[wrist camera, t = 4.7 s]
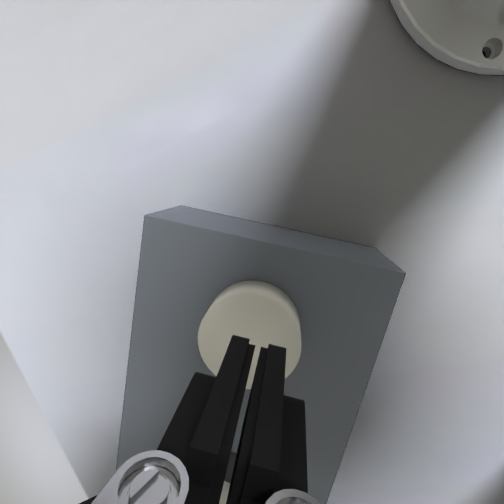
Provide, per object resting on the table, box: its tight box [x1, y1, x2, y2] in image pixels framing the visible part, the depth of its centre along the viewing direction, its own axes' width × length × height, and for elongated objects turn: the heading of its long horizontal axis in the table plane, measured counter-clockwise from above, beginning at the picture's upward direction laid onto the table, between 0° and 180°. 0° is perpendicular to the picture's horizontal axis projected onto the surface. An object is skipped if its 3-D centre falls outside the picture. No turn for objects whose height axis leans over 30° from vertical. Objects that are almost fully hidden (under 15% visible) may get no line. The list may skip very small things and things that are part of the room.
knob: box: [198, 280, 301, 389], centre depth 16 cm, size 4×4×6 cm
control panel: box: [116, 206, 406, 504], centre depth 20 cm, size 26×12×5 cm, turn 169°
